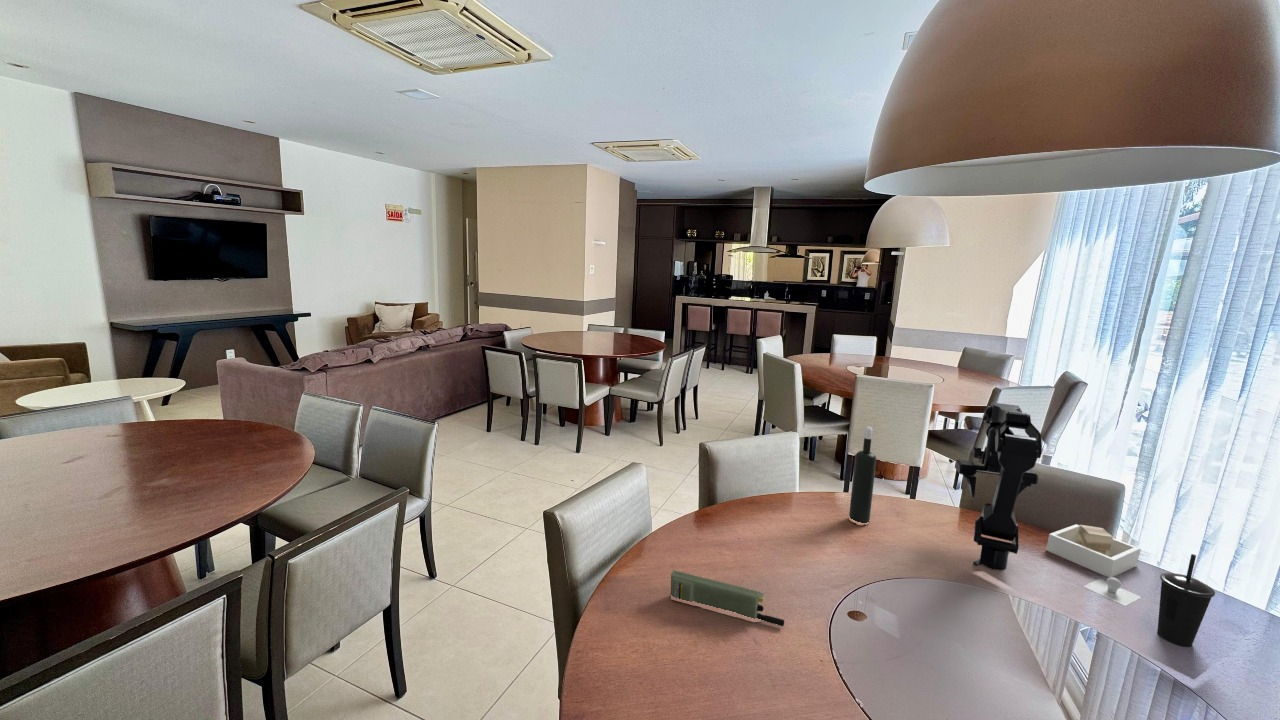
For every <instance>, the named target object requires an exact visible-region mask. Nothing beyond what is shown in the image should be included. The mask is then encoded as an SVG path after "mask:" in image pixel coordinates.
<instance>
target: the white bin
mask: <svg viewBox="0 0 1280 720" xmlns="http://www.w3.org/2000/svg"><path fill="white" fill-rule="evenodd" d="M1079 526H1080V524H1076V523H1075V524H1073V525H1071V526H1067V527H1065V528H1061V529H1060V530H1056V531H1053V532H1051V533H1048V539H1047V544H1046V551H1048V552H1049V553H1051V554H1054V555H1056V556H1058V557H1060V558H1063V559H1065V560H1068V561H1070V562H1073V563H1075V564H1077V565H1079V566H1081V567H1084V568H1086V569H1088V570H1091V571H1092V572H1096V573H1097V574H1100V575H1102V576H1104V577H1107V578H1110V577H1113V578H1115V577H1117V576H1119V575H1120V574H1122V573H1124V572H1127V571H1129V570H1132V569H1133V568H1135V567H1136V568H1137V567H1138V563H1139V557H1140V554H1141V553H1140V552H1141V548H1140V547H1138V546H1136V545H1132V544H1130V543H1128V542H1124V541H1122V540H1119V539H1117V538H1114V537H1113V538H1112V543H1111V548H1110V553H1109V556H1106V555H1104V554H1101V553H1099V552H1096V551H1094V550H1091V549H1089V548H1087V547H1084V546H1082V545H1079V544H1077V543H1076V542H1077V537H1078V532H1079ZM1118 553H1120V554H1118ZM1132 558H1134V559H1132ZM1136 560H1138V561H1136Z"/></svg>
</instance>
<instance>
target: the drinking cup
mask: <svg viewBox="0 0 1280 720" xmlns="http://www.w3.org/2000/svg"><path fill="white" fill-rule="evenodd" d="M1196 559H1197V555H1196V554H1193V553H1191V555H1190V560H1189V563H1188V566H1187V567H1188V568H1187V572H1186V574H1181V573H1173V572H1172V573H1171V572H1164V573H1161V574H1160V580H1161V585H1160V596H1159V608H1158V619H1157V620H1158V621H1157V633H1156V634H1158V636H1159V637H1160V638H1162V639H1163V640H1165V641H1167V642H1169V643H1171V644H1174V645H1176V646H1179V647H1184V648H1190V647H1192V646H1193V644H1194V642H1195V639H1196V636H1197V635H1198V631H1199V629H1200V627H1201V625H1202V622H1203V619H1204V617H1205V615H1206V612H1207V609H1208V607H1209V605H1210V602H1211V600H1212V598H1214V597H1215V596H1216V591H1215V590H1214V589H1213V588H1212V587H1210V585H1208V584H1206V583H1204V582H1203V581H1200V580H1199V579H1197V578H1194V577H1192V575H1193V571H1194V567H1195V563H1196Z"/></svg>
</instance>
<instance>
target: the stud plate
mask: <svg viewBox="0 0 1280 720" xmlns="http://www.w3.org/2000/svg"><path fill="white" fill-rule="evenodd" d="M1082 587H1083V588H1085V589H1088V590H1089V591H1091V592H1094V593H1096V594H1098V595H1100V596H1103V597H1105V598H1107V599H1109V600H1111V601H1113V602H1115V603H1117V604H1120V605H1122V606H1124V607H1127V606H1128V605H1130V604H1132V603H1134V602H1135V601H1138V600H1140V599H1141V598H1142V596H1140V595H1138V594H1135V593H1133V592H1131V591H1129V590H1126V589H1124V588H1122V582H1121V581H1120V580H1119V579H1118V578H1116V577H1110V578H1109V577H1107V579H1106V580H1104V579H1101V578H1097V579H1096V580H1093V581H1092V582H1089V583H1087V584H1086V585H1085V584H1084V585H1083V586H1082Z"/></svg>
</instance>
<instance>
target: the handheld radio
mask: <svg viewBox="0 0 1280 720" xmlns="http://www.w3.org/2000/svg"><path fill="white" fill-rule="evenodd" d="M764 594H765V593H764V592H761V591H757V590H754V589H749V588H747V587H746V588H745V587H742V586H737V585H734V584H729V583H727V582H722V581H719V580H715V579H710V578H706V577H702V576H699V575H694V574H690V573H687V572H682V571H678V570H674V569H673V570H672V571H671V573H670V596H671V595H672V596H673V597H675V598H679V599H682V600H686V601H690V602H692V601H695V602H697V603H701V604H705V605H709V606H713V607H716V608H721V609H724V610H729V611H732V612H736V613H738V614H741V615H744V616H747V617H751V618H754V619H755V618H758V619H761V620H762V621H763V620H764V621H763V622H766V621H767V623H769V622H770V624H772V625H776V624H777V626H781V627H784V625H785V619H782V618H780V617H779V618H777V617H774V616H771V615H767V614H762V613H759V612H763V611H764V608H765V607H764V606H763V605H761V604H759V603H763V602H764Z"/></svg>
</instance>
